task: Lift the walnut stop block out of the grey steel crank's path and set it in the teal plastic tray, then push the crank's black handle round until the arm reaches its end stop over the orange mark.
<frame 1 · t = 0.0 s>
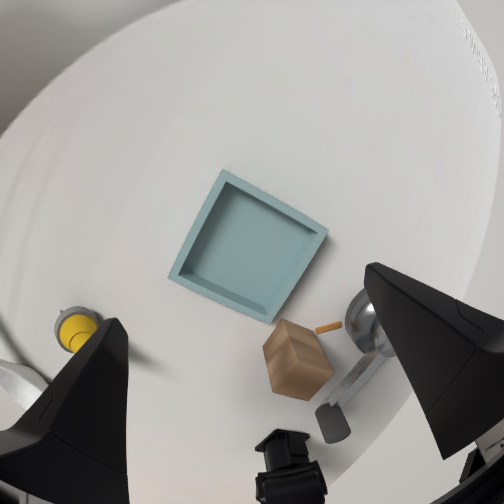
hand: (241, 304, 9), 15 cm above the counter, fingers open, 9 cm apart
stop block: (287, 339, 28), on the counter
crank: (368, 381, 24), point 6 cm above the counter, hinge at 0.0°
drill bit: (93, 317, 25), on the counter
tray: (245, 245, 24), on the counter
crank base: (375, 312, 28), on the counter
spoon rest: (16, 352, 26), on the counter
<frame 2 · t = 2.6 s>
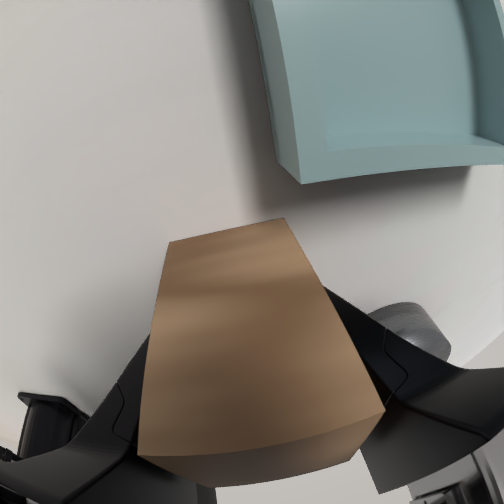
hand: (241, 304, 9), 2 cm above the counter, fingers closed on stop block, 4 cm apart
stop block: (236, 276, 10), on the counter, touching gripper
crank: (315, 467, 9), point 6 cm above the counter, hinge at 0.0°
tray: (391, 21, 6), on the counter
crank base: (374, 351, 15), on the counter
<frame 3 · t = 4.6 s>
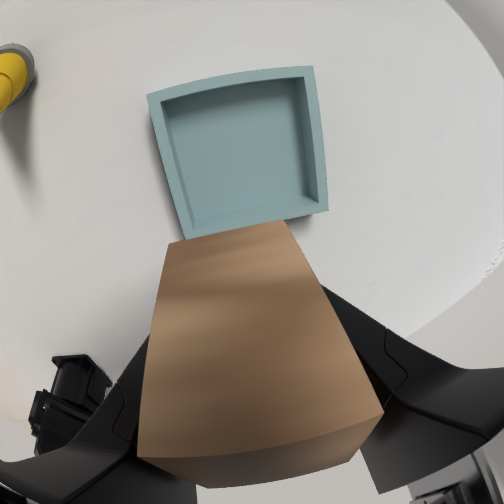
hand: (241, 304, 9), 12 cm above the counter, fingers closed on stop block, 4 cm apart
stop block: (236, 277, 10), point 10 cm above the counter, touching gripper
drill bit: (27, 80, 11), on the counter
tray: (241, 146, 18), on the counter
when the fingers open (4 cm above the counter, at t = 6.6 s): stop block drops 1 cm, resting on tray.
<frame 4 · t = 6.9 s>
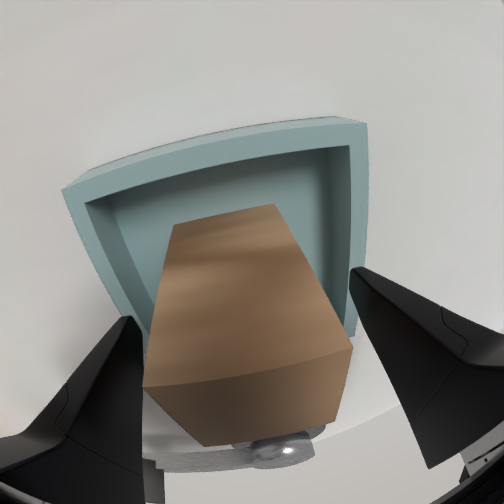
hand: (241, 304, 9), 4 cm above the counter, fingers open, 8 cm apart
stop block: (233, 256, 11), point 1 cm above the counter, touching tray
crank: (218, 477, 16), point 6 cm above the counter, hinge at 0.0°
tray: (233, 248, 12), on the counter
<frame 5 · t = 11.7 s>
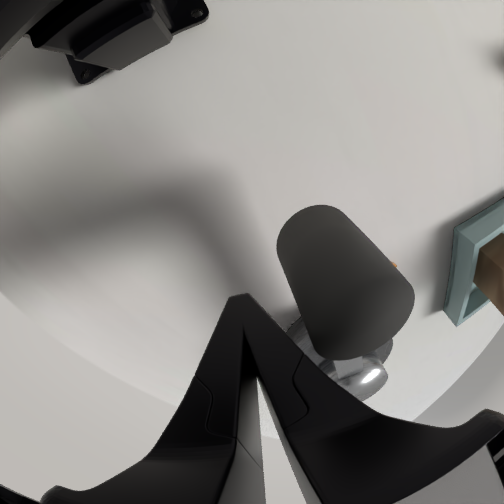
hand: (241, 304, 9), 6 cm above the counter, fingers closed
stop block: (486, 255, 18), point 1 cm above the counter, touching tray
crank: (352, 362, 12), point 6 cm above the counter, hinge at 0.5°, touching gripper
tray: (482, 252, 18), on the counter
crank base: (331, 337, 20), on the counter
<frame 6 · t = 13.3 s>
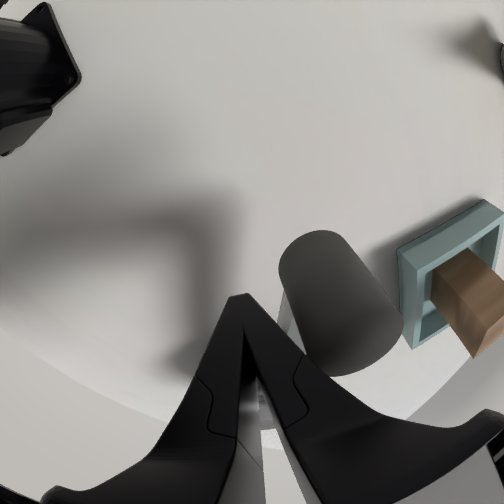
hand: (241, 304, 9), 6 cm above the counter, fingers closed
stop block: (448, 273, 18), point 1 cm above the counter, touching tray
crank: (293, 386, 12), point 6 cm above the counter, hinge at 29.2°, touching gripper
tray: (444, 270, 18), on the counter
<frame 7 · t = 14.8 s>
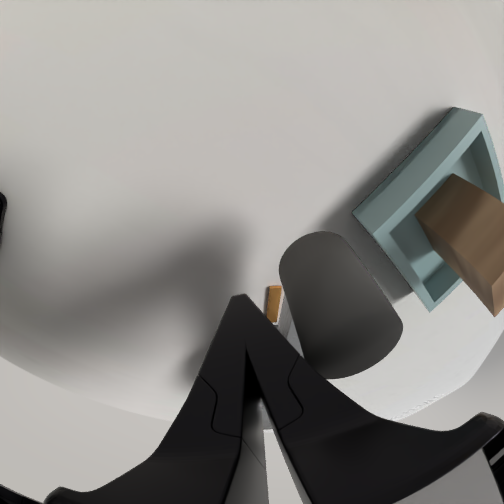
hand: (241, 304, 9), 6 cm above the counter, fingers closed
stop block: (444, 213, 14), point 1 cm above the counter, touching tray
crank: (294, 387, 12), point 6 cm above the counter, hinge at 52.1°, touching gripper
tray: (439, 209, 15), on the counter
crank base: (265, 358, 20), on the counter
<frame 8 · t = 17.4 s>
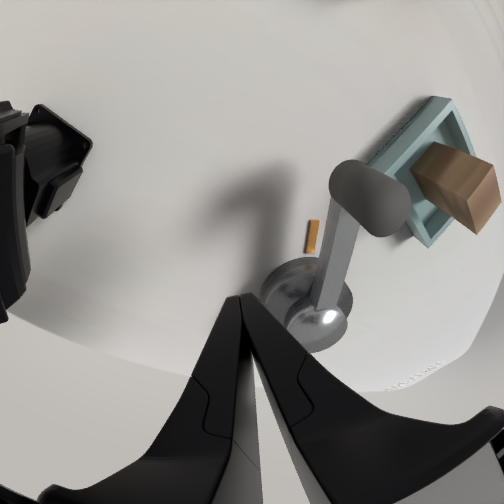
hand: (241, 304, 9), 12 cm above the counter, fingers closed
stop block: (430, 170, 20), point 1 cm above the counter, touching tray
crank: (339, 284, 17), point 6 cm above the counter, hinge at 50.9°
tray: (427, 168, 20), on the counter
crank base: (301, 293, 25), on the counter
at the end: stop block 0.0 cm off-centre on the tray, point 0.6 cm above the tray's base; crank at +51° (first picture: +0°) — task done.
